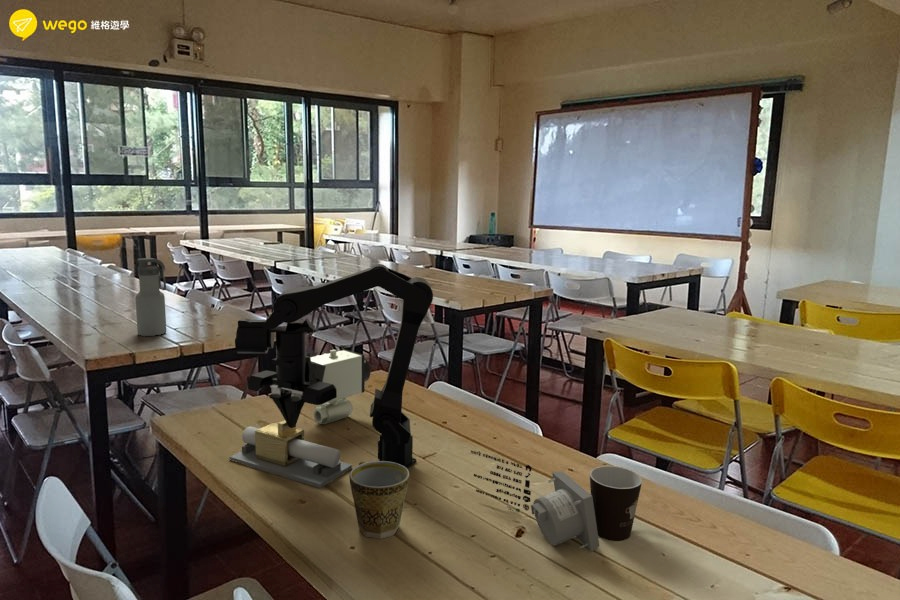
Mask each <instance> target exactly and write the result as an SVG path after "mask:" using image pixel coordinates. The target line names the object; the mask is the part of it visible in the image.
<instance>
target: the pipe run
mask: <svg viewBox="0 0 900 600" xmlns="http://www.w3.org/2000/svg"><path fill="white" fill-rule="evenodd" d="M258 429H260V428H258V427H255V426H251V425H250V426H247V427H246V428H245V429H244V430H243V432H242V435H241V436H242V437H241V439H242V442H243V443H244V445H241V451H239V452H236V453H234V454H232V455H230V456H229V457H228V458H229V460H230V459H231V460H234V461H237V462H239V463H238V464H240V463H243V464H245V465H244V466H247V465H248V467H250V466H251V467H250V468H254V469H256V468H257V469H256V470H261V471H263V472H266V473H269V474H273V475H276V476H279V475H280V477H282V476H283V477H284V478H286V477H287V478H286V479H290V480H293V481H296V482H300V483H302V484H306V485H309V486H312V487H316V488H319V489H322V488H323V487H324V486H327V485H328V484H329V483H331V482H332V481H334V480H336V479H337V478H339V477H340V476H342V475H344V474H345V473H347V472H350V470H352V469H353V465H352V464H350V463H348V462H347V463H346V462H343V461H340V459H341V453H340V450H339V449H337V448H333V447H330V446H325V445H321V444H319V443H314V442H311V441H307V440H305V439H304V440H300V439H296V438H292V439H290V440H288V441H287V455H289V456H293V457H296V458H299V459H298V460H296V461H294V462H292V463H290V464H288V465H286V466H283V465H280V464H277V463H273V462H270V461H267V460H263V459H260V458H256V447H255V431H256V430H258ZM234 461H233V462H234ZM237 462H236V463H237ZM243 464H242V465H243Z"/></svg>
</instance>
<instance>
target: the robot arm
mask: <svg viewBox="0 0 900 600" xmlns="http://www.w3.org/2000/svg"><path fill="white" fill-rule="evenodd" d="M378 287H379V288H380V289H383V290H384V291H386V292H388V293H390V294H392V295H394V296H395V297H396V298H399V299H400V300H402V305H401V306H402V307H401V321H400V325H399V330H398V332H397V337H396V341H395V344H394V347H393V348H394V349H393V353H392V355H391V356H392V358H391V360H390V365H389V368H388V373H387V376H386V380H385V384H384V385H383V387H382V389H377V388H375V389H374V399H373V401H372V403H371V404H370V409H369V410H370V411H369V417H370V418H372V420H371V421H372V427H373V428H374V430H375V431H376V432H377V433H379V440H378V441H377V459H378V461H388V462H394V463H397V464H400V465H402V466H404V467H405V468H407V469H408V468H409V467H411V466H412V465H413V464H415V463H416V462H417V458H416V457H415V458H414V457H413V447H414V446H413V445H414V444H413V442H414V441H413V440H414V439H413V438H414V437H413V435H411V433H412V432H411V420H410V418H409V417H408V416H407V415H406V414H404V413H403V412H402V410H403V409H402V408H403V392H404V388H405V383H406V379H407V375H408V372H409V367H410V364H411V360H412V356H413V352H414V349H415V344H416V341H417V337H418V332H419V330H420V327H421V325H422V323H423V321H424V319H425V318H426V316H427V314H428V312H429V309H430V307H431V305H432V303H433V300H434V299H433V298H434V293H433V290H432V286H431V285H430V283H429V281H427V280H426V278H422V277H419V276H416V277H410V276H409V275H406V274H404V273H401V272H399V271H397V270H394V269H392V268H389V267H388V266H387V265H384V264H383V263H376V264H374V265H372V266H371V267H368V268H366V269H363V270H359V271H357V272H354V273H351V274H348V275H345V276H342V277H339V278H337V279H333V280H331V281H327V282H325V283H322V284H319V285H312V286H301V287H300V286H299V287H295V288H288V289H285V290H284V291H282V293H280V294H279V295H278V297H276V298H275V300H274V303H273V306H272V311H273V312H272V313H270V314H269V315H268V316H267V317H266V319H249V318H240V319H239V320H238V321H237V329H236V333H235V335H236V336H235V338H234V346H235V348H234V349H235V352H236V353H237V354H268V352H269V349H274V345H275V353H276V356H275V358H272V359H271V364H272V365H274V366H276V367H275V368H276V371H272V370H262V371H260V372H257V373H254V374H251V375H250V376H249V378H248V380H247V389H248V390H250V391H254V392H259V391H261V390H262V389H263V386H266V387H270V388H271V394H268V397H269V398H270V399H271V400H272V402H273V403H274V405H276V407H277V409H278V411H280V413H281V415H282V417H283V419H284V420H285V421H286V423H287V424H288V426H289V428H294V427H295V426H296V427H297V424H298V423H297V422H298V421H299V417H300V415H301V411H302V409H303V407H304V405H305V403H306V404H310V405H314V406H317V405H321V404H323V403H325V402H328V401H330V400H332V399H334V398H337V389H336V387H335V386H334V385H333V384H330V383H325V382H317V383H315V384H312V385H308V384H306V382H311V381H313V378H315V379H319V380H322V381H323V377H324V372H325V368H326V366H324V365H318V364H313V363H311V358H310V357H311V356H308V355H307V354H306V350H307V349H306V348H307V347H306V334H307V333H312V334H313V333H314V331H315V329H316V325H314V323H312V322H311V321H310V320H309V318H305V319H304V320H303V321H302V322H297V321H298V320H300V319H303V318H304V317H305V316H308V315H309V314H311V313H312V312H314V311H315V310H317V309H319V308H320V307H322V306H324V305H327V304H330V303H333V302H336V301H339V300H341V299H344V298H348V297H350V296H354V295H356V294H360V293H361V292H365V291H368V290H371V289H375V288H378ZM283 323H286V325H282V324H283ZM281 325H282V326H281Z"/></svg>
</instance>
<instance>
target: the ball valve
mask: <svg viewBox="0 0 900 600" xmlns="http://www.w3.org/2000/svg"><path fill="white" fill-rule="evenodd" d="M309 357H310V358H311V363H313V364H318V365H324V366H326V368H325V372H324V377H323V381H322V380H319V379H315V378H313V381H311V382H306V384H308V385H312V384H315V383H317V382H325V383H330V384H333V385H334V386H335V387H336V389H337V398H334V399H332V400H330V401H328V402H325V403H323V404H321V405H316V406H315V407H316V408H315V409H314V411H313V419H314V420H315V422H316V423H317V424H321V425H322V424H323V425H327V424H329V423H333V422H336V421H339V420H344V419H346V418H348V417H349V416H351V415H352V414H353V411H354V408H353V403H352V401H350V400H348V399H347V398H350V397H352V396H355V395H361V394H363V393H365V391H366V390H365V388H366V382H367V381H369V379H370V377H371V366H370V363H369V362H368V360H367V359H366V358H365V354H362V353H359V352H355V351H352V350H349V349H343V350H339V351H338V350H336V349H332V350H331V349H330V350H329V353H326V352H325V353H323V354H321V355H320V354H317V355H315V356H309Z"/></svg>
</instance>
